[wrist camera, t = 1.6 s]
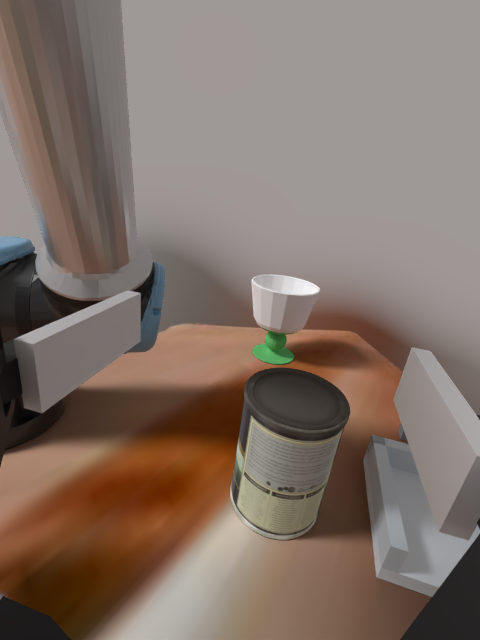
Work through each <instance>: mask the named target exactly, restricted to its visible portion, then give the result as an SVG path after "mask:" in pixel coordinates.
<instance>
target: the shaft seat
mask: <svg viewBox="0 0 480 640" xmlns="http://www.w3.org/2000/svg"><path fill="white" fill-rule="evenodd" d="M398 433H399V436H400V440H404V441H407V438H406V435H405V432H404V429H403V426H402V423H401V424H400V427H399V430H398ZM363 464H364V472H365V481H366V490H367V499H368V507H369V516H370V525H371V533H372V542H373V551H374V560H375V568H376V577H377V578H379V579H382V580H385V581H388V582H391V583H394V584H396V585H399V586H402V587H405V588H408V589H410V590H413V591H416V592H419V593H422V594H424V595H427V596H430V597H433V595H434V594H435V593H436V591H437V590H438V589H439V587H440V586H441V585H442V583H443V582H444V581H445V579H446V578H447V577H448V575H449V574H450V573H451V571H452V570H453V569H454V567H455V566H456V565H457V563H458V562H459V561H460V559H461V558H462V557H463V555H464V554H465V553H466V551H467V550H468V549H469V547H470V546H471V545H472V543H473V542H474V541H475V539H476V538H477V537H478V535H479V534H480V529H479V527H478V525H477V527H476V529H475V531H474V532H473V534H472V536H471V538H470V539H469V541H468V540H465V539H462V538H458V537H455V536H452V535H448V534H445V533H442V532H439V531H438V528H437V525H436V522H435V519H434V516H433V513H432V511H431V508H430V505H429V502H428V499H427V496H426V493H425V490H424V487H423V484H422V481H421V479H420V476H419V473H418V470H417V467H416V464H415V461H414V458H413V455H412V452H411V450H410V447H409V444H406V443H402V442H398V441H394V440H391V439H387V438H383V437H380V436H376V435H372V437H371V439H370V442H369V445H368V448H367V451H366V454H365V457H364V459H363Z"/></svg>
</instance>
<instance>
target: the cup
mask: <svg viewBox="0 0 480 640" xmlns="http://www.w3.org/2000/svg"><path fill="white" fill-rule="evenodd" d="M319 293H320V288H318V287H317V286H316V285H315V284H313V283H311V282H308V281H306V280H302V279H299V278H295V277H289V276H283V275H259V276H255V277H254V278H253V279H252V295H253V311H254V317H255V320H256V322H257V324H258V325H259V326H260V327H262V328H263V329H264V330H267V331H269V332H268V333H267V335H266V337H265V344H259V345H257V346H255V347H254V348H253V350H252V351H253V354H254V355H255V356H256V357H257V358H258V359H259V360H262V361H264V362H266V363H270V364H278V365H283V364H288V363H290V362H291V361H293V359H294V355H293V353H292V352H291V351H290V350H288V349H287V348H285V347H284V346H285V344H286V336H285V335H287V334H293V333H296V332H298V331H300V330H301V329H302V328H303V327H304V326H305V324H306V322H307V319H308V317H309V315H310V313H311V310H312V309H313V306H314V304H315V302H316V300H317V297H318V295H319Z"/></svg>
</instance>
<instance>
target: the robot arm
mask: <svg viewBox="0 0 480 640" xmlns="http://www.w3.org/2000/svg"><path fill="white" fill-rule="evenodd" d="M0 112H1V116H2V118H3V121H4V124H5V127H6V130H7V133H8V136H9V139H10V142H11V145H12V148H13V151H14V154H15V157H16V160H17V162H18V166H19V168H20V172H21V174H22V177H23V181H24V183H25V186H26V189H27V192H28V195H29V198H30V201H31V204H32V207H33V210H34V213H35V216H36V219H37V222H38V225H39V228H40V231H41V234H42V237H43V239H44V242H45V245H44V246H43V247H42V248H41V249H40V251H39V253H38V254H35V253H34V251H35V247H34V246H33V245H32V243H31V241H30V240H28V239H26V238H19V237H0V466H1V461H2V457H3V453H4V449H7V448H10V447H13V446H16V445H18V444H21V443H23V442H25V441H28V440H30V439H32V438H34V437H35V436H37V435H39V434H40V433H42V432H43V431H45V430H46V429H48V428H49V427H50V426H51V425H52V424H53V423H55V422H56V420H57V419H58V418H59V417H60V416H61V414H62V412H63V410H64V408H65V396H66V395H68V394H69V393H70V392H72V391H73V390H75V389H76V388H77V387H79V386H80V385H81V384H83V383H84V382H86V381H87V380H88V379H90V378H91V377H92V376H94V375H95V374H96V373H98V372H99V371H101V370H102V369H103V368H105V367H106V366H107V365H109V364H110V363H111V362H113V361H114V360H116V359H117V358H118V357H120V356H121V355H122V354H126V353H130V352H146V351H148V350H150V349H151V348H152V347H153V346H154V344H155V342H156V339H157V335H158V330H159V324H160V318H161V310H162V303H163V297H164V287H165V268H164V266H163V265H162V264H159V263H157V262H155V261H152V256H151V252H150V250H149V248H148V247H147V245H146V244H145V243H144V242H143V241H142V240H140V239H139V238H138V237H137V233H136V218H135V203H134V188H133V173H132V158H131V143H130V128H129V114H128V99H127V85H126V70H125V55H124V40H123V25H122V11H121V0H0ZM394 403H395V406H396V409H397V412H398V415H399V418H400V421H401V423H402V426H403V429H404V432H405V435H406V438H407V441H408V444H409V447H410V450H411V452H412V455H413V458H414V461H415V464H416V467H417V470H418V473H419V476H420V479H421V481H422V484H423V487H424V490H425V493H426V496H427V499H428V502H429V505H430V508H431V511H432V513H433V516H434V519H435V522H436V525H437V528H438V531H439V532H442V533H445V534H448V535H452V536H455V537H458V538H462V539H465V540H468V541H469V539H470V538H471V536H472V534H473V532H474V531H475V529H476V527H477V525H478V527H479V529H480V416H479V415H476V414H475V413H474V411H473V410H472V408H471V407H470V406H469V404H468V403H467V401H466V400H465V399H464V397H463V396H462V395H461V393H460V392H459V390H458V389H457V387H456V386H455V385H454V383H453V382H452V380H451V379H450V378H449V376H448V375H447V373H446V372H445V371H444V369H443V368H442V366H441V365H440V364H439V362H438V361H437V360H436V358H435V357H434V355H433V354H432V353H431V351H427V350H422V349H417V348H412V349H411V351H410V354H409V357H408V360H407V363H406V366H405V368H404V371H403V374H402V377H401V380H400V382H399V385H398V388H397V391H396V394H395V397H394ZM0 640H71V639H70V638H69V637H68V636H67V635H66V634H65V633H64V631H63V630H62V629H61V628H60V627H59V626H58V625H57V624H56V623H55V622H54V621H53V620H52V619H51V617H50V616H47V615H45V614H43V613H40V612H38V611H36V610H34V609H31V608H29V607H27V606H24V605H22V604H20V603H18V602H15V601H13V600H11V599H8V598H6V597H4V596H3V597H2V598H1V600H0ZM400 640H480V534H479V535H478V537H477V538H476V539H475V541H474V542H473V543H472V545H471V546H470V547H469V549H468V550H467V551H466V553H465V554H464V555H463V557H462V558H461V559H460V561H459V562H458V563H457V565H456V566H455V567H454V569H453V570H452V571H451V573H450V574H449V575H448V577H447V578H446V579H445V581H444V582H443V583H442V585H441V586H440V587H439V589H438V590H437V591H436V593H435V594H434V595H433V597H432V598H431V599H430V600H429V602H428V603H427V604H426V606H425V607H424V608H423V610H422V611H421V612H420V614H419V615H418V616H417V618H416V619H415V620H414V622H413V623H412V624H411V626H410V627H409V628H408V630H407V631H406V632H405V634H404V635H403V636H402V638H401V639H400Z"/></svg>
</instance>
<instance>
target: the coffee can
mask: <svg viewBox="0 0 480 640" xmlns="http://www.w3.org/2000/svg"><path fill="white" fill-rule="evenodd" d="M349 415H350V407H349V403H348V401H347V399H346V397H345V396H344V394H343V393H342V392H341V391H340V390H339V389H338V388H337V387H336V386H334V385H333V384H332V383H330V382H329V381H327V380H325V379H323V378H321V377H319V376H317V375H315V374H312V373H309V372H306V371H302V370H297V369H291V368H271V369H265V370H262V371H259V372H257V373H255V374H254V375H252V376H251V377H250V378H249V379H248V381H247V382H246V385H245V389H244V404H243V412H242V418H241V425H240V432H239V439H238V445H237V452H236V459H235V466H234V472H233V479H232V483H231V488H230V496H231V501H232V505H233V507H234V510H235V512H236V514H237V515H238V517H239V518H240V519H241V520H242V522H243V523H244V524H245V525H246V526H248V527H249V528H250V529H252V530H253V531H255V532H256V533H258V534H260V535H262V536H264V537H267V538H271V539H276V540H289V539H294V538H297V537H299V536H302V535H304V534H305V533H306V532H307V531H309V530H310V529H311V528H312V526H313V525H314V524H315V522H316V520H317V517H318V513H319V508H320V505H321V501H322V498H323V495H324V492H325V488H326V485H327V482H328V478H329V475H330V472H331V469H332V465H333V462H334V459H335V456H336V452H337V449H338V446H339V443H340V439H341V436H342V432H343V429H344V426H345V425H346V423H347V421H348V419H349Z"/></svg>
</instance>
